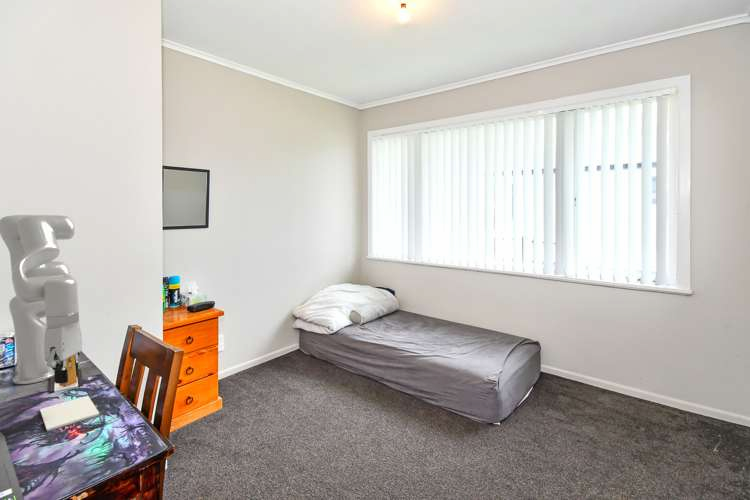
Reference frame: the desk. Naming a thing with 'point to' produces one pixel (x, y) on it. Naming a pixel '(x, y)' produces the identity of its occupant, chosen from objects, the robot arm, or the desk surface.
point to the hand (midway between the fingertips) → (67, 378)
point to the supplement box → (70, 371)
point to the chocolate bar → (56, 388)
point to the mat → (68, 413)
